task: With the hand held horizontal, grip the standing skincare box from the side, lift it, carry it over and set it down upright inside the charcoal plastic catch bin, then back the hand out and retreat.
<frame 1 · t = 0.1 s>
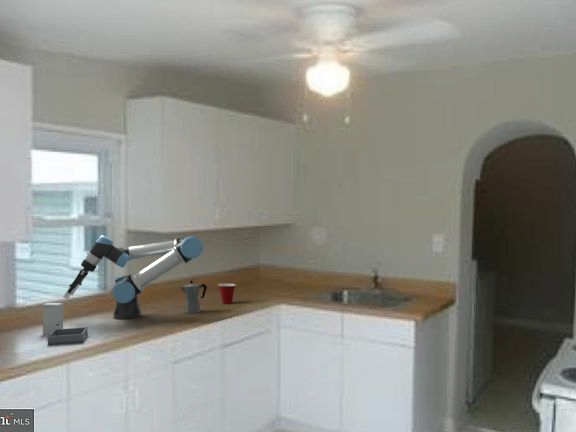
hand: (67, 296, 304), 15 cm above the counter, tool tilted 35°, fingers open, 13 cm apart
plastic cup: (227, 303, 356), on the counter
coffeepot: (194, 311, 332), on the counter
catch bin: (68, 340, 270), on the counter
skincare box: (53, 333, 286), on the counter
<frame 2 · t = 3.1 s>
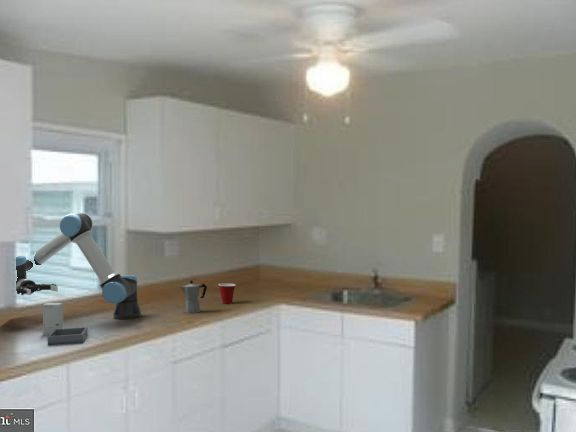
hand: (43, 290, 292), 20 cm above the counter, tool horizontal, fingers open, 13 cm apart
nothing on the counter moved.
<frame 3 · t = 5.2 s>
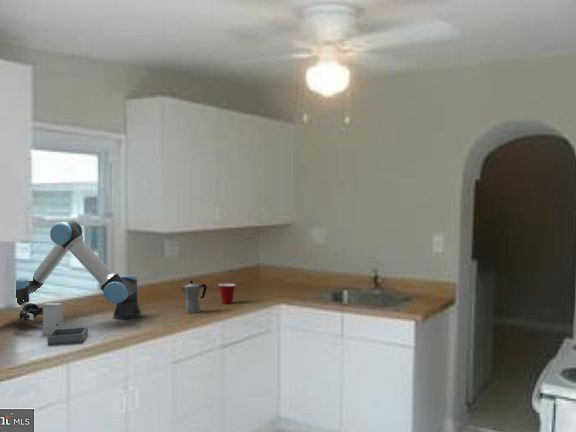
hand: (46, 315, 290), 8 cm above the counter, tool horizontal, fingers open, 13 cm apart
nothing on the counter moved.
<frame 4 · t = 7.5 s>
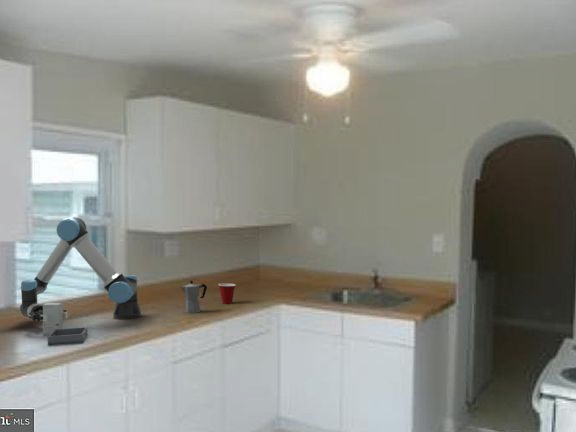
hand: (57, 317, 283), 9 cm above the counter, tool horizontal, fingers closed on skincare box, 9 cm apart
skincare box: (53, 333, 286), on the counter, touching gripper
everything else where it was.
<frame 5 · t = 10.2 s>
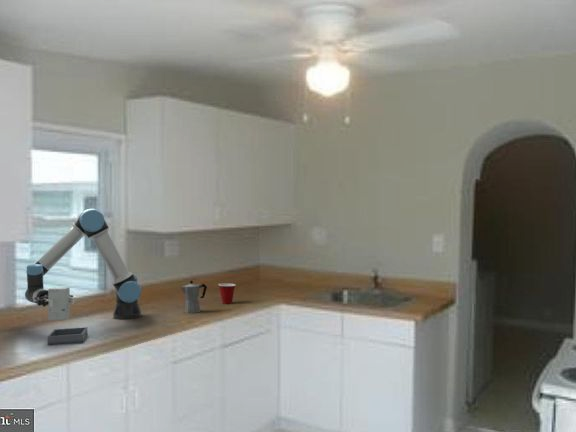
hand: (63, 302, 271), 18 cm above the counter, tool horizontal, fingers closed on skincare box, 9 cm apart
skincare box: (59, 319, 274), point 9 cm above the counter, touching gripper
everything else where it was.
when the fingers open (11 cm above the counter, at t = 12.9 s): skincare box drops 1 cm, resting on catch bin.
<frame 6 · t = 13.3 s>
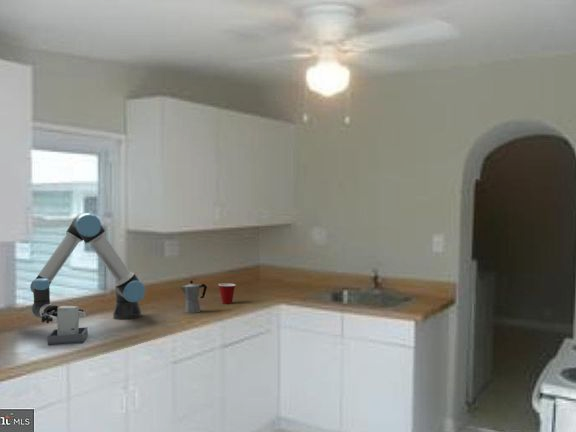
hand: (70, 317, 268), 11 cm above the counter, tool horizontal, fingers open, 13 cm apart
skincare box: (68, 338, 271), point 1 cm above the counter, touching catch bin
everything else where it was.
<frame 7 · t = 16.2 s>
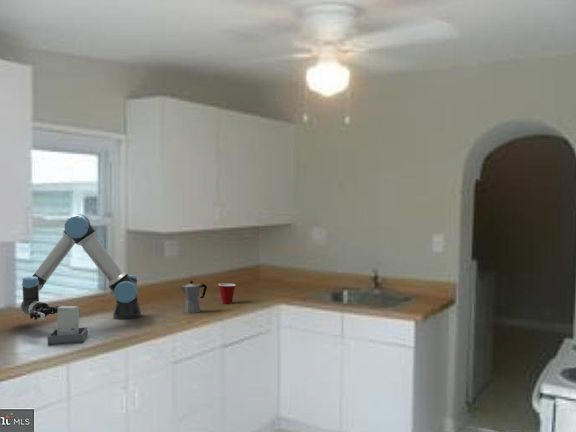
hand: (58, 314, 277), 11 cm above the counter, tool horizontal, fingers open, 13 cm apart
nothing on the counter moved.
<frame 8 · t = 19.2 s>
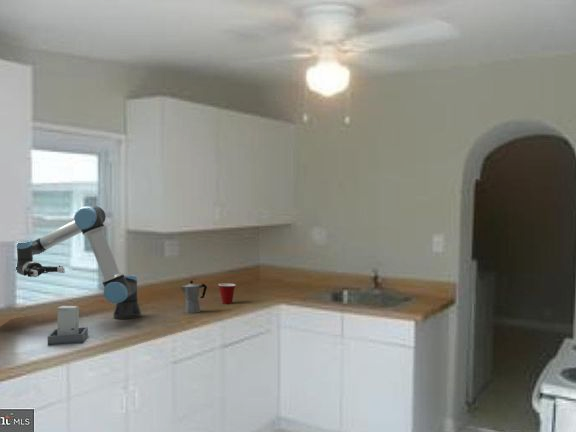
hand: (50, 272, 289), 30 cm above the counter, tool horizontal, fingers open, 13 cm apart
nothing on the counter moved.
at the end: skincare box inside the target area on the catch bin (0.1 cm from its centre), point 0.8 cm above the catch bin's base; skincare box tilted 0°; the gripper is holding nothing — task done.
